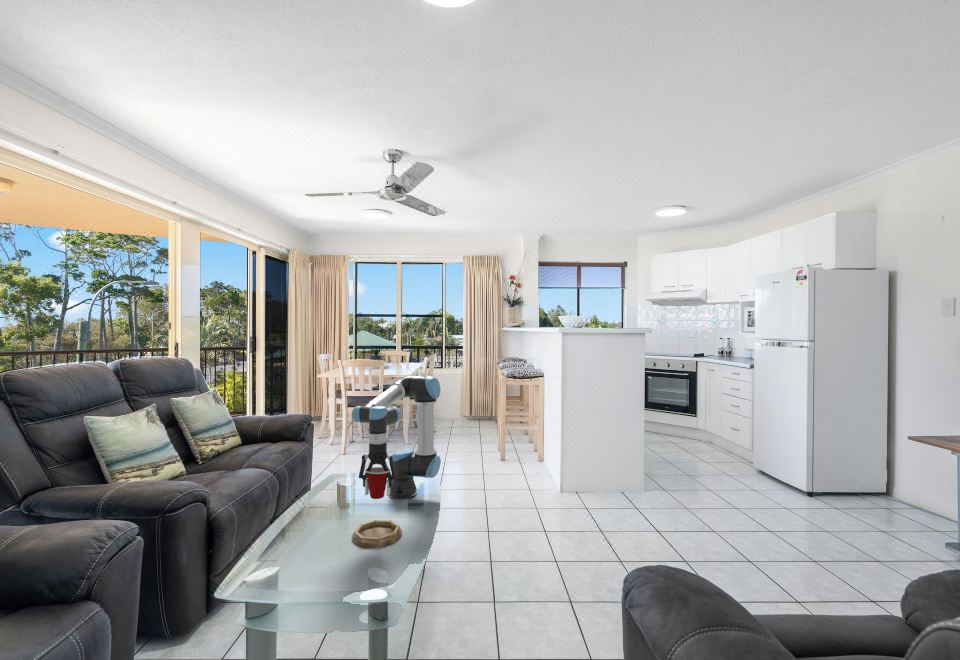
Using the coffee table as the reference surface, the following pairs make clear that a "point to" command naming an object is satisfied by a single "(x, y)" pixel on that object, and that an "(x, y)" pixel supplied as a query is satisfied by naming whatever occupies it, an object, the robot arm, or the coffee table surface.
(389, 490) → the robot arm
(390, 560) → the coffee table surface
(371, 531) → the ring base
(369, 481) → the plastic cup
